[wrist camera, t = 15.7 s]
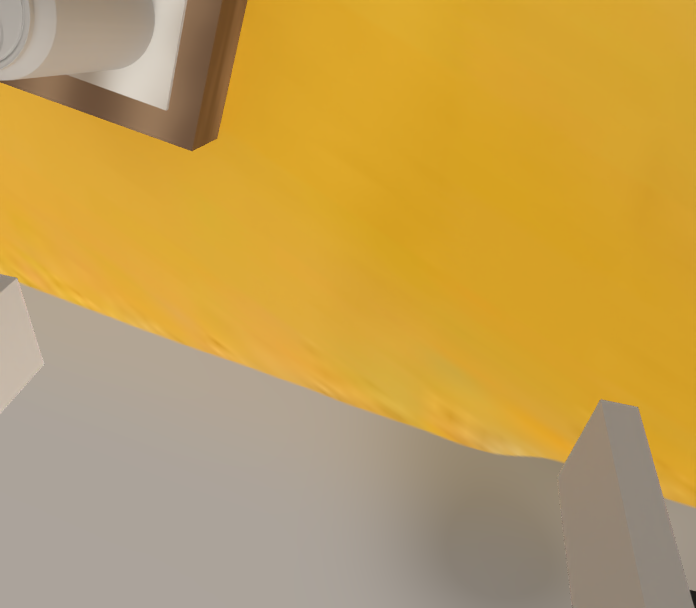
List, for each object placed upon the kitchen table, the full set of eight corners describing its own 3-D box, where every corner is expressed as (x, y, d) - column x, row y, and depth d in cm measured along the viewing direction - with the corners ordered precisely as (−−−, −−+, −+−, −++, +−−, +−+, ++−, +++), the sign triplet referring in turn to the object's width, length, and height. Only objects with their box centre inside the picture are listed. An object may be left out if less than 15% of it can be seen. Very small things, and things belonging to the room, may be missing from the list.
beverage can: (56, 54, 35) (-105, 62, 25) (56, -66, 33) (-126, -116, 22) (156, 80, 35) (37, 100, 25) (164, -38, 32) (35, -74, 22)
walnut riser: (260, -62, 36) (235, -77, 31) (216, 138, 42) (190, 151, 37) (58, -138, 36) (1, -164, 31) (42, 75, 41) (-8, 80, 37)
